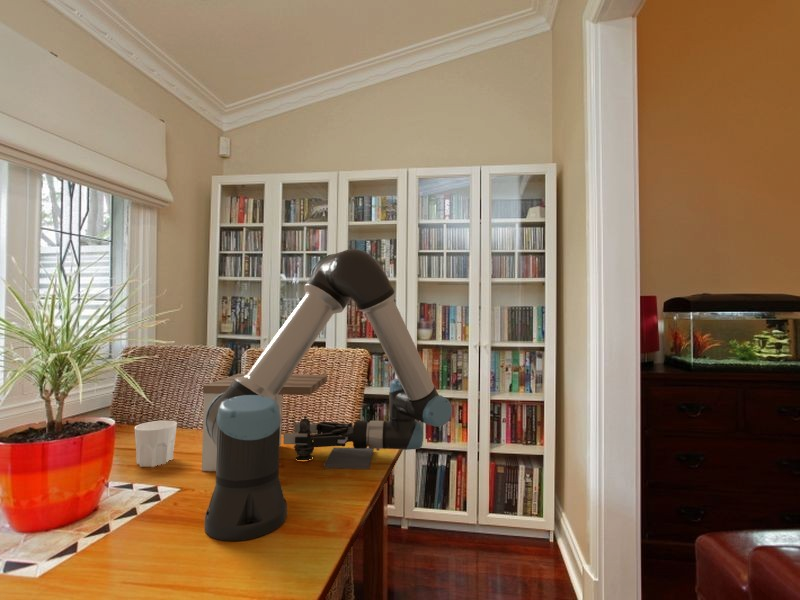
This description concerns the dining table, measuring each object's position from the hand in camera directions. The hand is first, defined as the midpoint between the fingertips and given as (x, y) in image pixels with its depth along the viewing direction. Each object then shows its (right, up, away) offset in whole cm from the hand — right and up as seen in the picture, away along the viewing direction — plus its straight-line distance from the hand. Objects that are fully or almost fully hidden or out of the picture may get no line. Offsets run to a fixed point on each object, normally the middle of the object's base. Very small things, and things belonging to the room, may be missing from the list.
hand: (289, 433), depth 116 cm
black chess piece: (+4, -7, 0) cm, 8 cm away
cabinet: (-6, -7, 0) cm, 9 cm away
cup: (-36, -7, -4) cm, 37 cm away
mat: (+17, -7, -1) cm, 19 cm away
